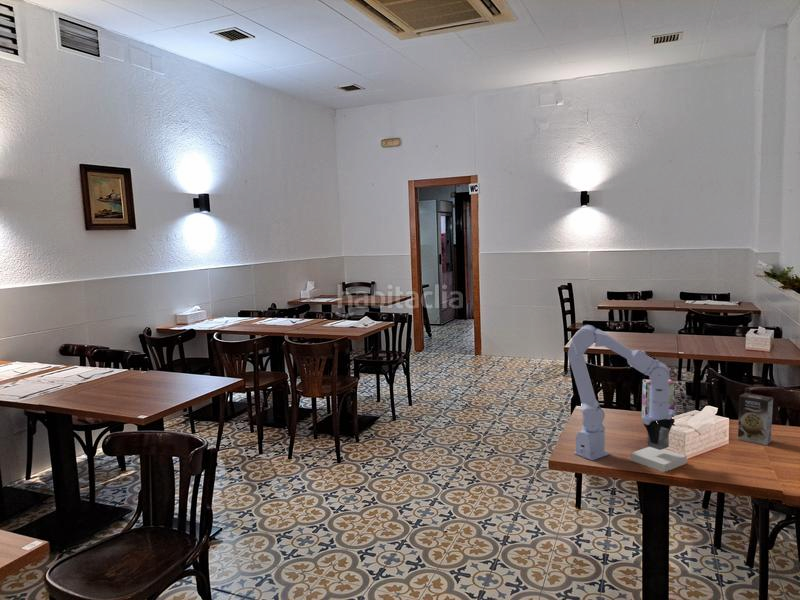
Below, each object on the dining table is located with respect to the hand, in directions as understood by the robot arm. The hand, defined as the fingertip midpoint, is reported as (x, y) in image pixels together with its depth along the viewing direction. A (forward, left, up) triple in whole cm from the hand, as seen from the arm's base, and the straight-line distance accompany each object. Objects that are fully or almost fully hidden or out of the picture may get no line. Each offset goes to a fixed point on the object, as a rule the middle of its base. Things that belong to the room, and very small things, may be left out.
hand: (658, 441), depth 184 cm
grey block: (0, 0, -2) cm, 2 cm away
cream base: (0, 0, -7) cm, 7 cm away
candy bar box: (+37, +25, -7) cm, 45 cm away
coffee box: (+44, -8, -7) cm, 45 cm away
